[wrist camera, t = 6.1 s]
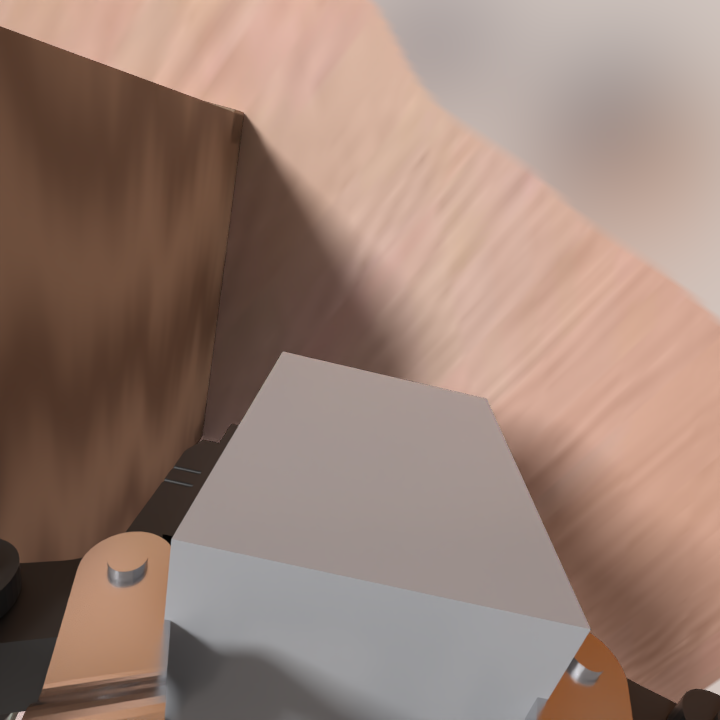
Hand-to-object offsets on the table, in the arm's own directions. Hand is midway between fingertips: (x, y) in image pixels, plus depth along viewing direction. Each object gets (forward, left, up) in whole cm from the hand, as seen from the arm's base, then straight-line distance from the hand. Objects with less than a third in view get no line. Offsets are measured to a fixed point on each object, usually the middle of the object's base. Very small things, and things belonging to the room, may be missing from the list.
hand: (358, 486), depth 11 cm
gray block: (0, 0, -1) cm, 1 cm away
